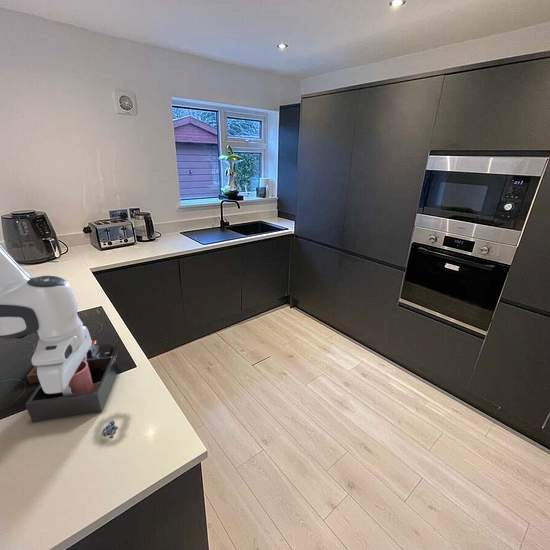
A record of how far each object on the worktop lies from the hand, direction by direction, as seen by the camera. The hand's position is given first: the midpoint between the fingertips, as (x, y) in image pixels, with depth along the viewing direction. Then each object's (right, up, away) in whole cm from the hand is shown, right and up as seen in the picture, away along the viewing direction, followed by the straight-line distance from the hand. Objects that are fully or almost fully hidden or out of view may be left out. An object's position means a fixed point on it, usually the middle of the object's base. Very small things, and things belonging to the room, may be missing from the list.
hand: (76, 381), depth 77 cm
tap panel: (-4, 0, +15) cm, 16 cm away
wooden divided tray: (-14, 0, +14) cm, 20 cm away
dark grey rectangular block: (-4, +3, +14) cm, 15 cm away
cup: (0, -4, +2) cm, 5 cm away
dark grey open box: (0, -5, +2) cm, 6 cm away
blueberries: (+15, -10, -8) cm, 19 cm away
